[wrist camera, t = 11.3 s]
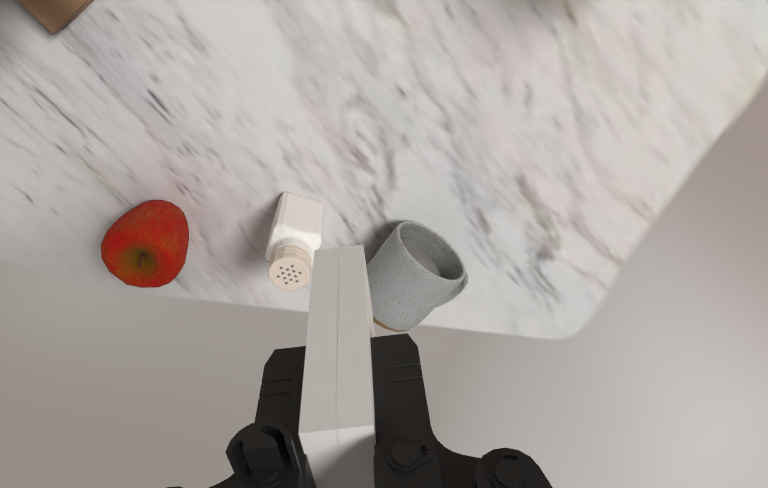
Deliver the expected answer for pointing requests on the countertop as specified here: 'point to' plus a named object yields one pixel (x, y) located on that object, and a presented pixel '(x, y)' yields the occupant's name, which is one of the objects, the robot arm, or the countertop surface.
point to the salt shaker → (294, 240)
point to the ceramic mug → (412, 276)
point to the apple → (147, 244)
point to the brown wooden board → (55, 11)
